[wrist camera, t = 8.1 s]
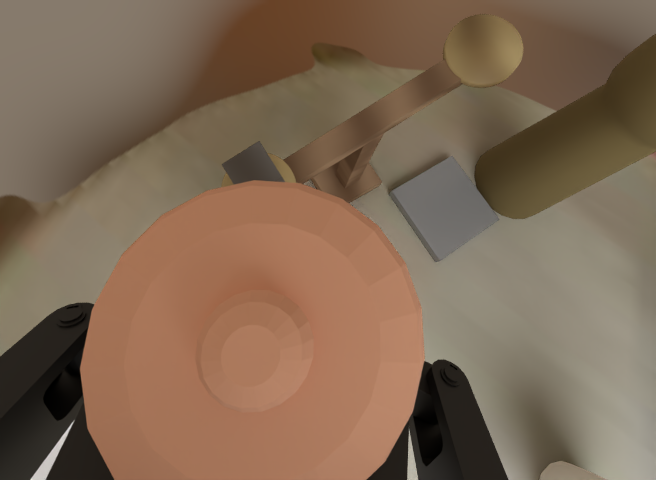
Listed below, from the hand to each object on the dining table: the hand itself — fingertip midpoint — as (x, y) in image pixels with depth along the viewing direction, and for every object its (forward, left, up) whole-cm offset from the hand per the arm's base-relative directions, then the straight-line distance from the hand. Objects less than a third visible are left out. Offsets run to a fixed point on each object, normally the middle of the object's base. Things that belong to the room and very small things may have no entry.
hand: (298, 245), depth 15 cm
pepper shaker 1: (+2, +3, -8) cm, 9 cm away
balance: (-11, -6, -14) cm, 19 cm away
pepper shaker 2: (-31, +5, -14) cm, 34 cm away
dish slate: (-20, +3, -14) cm, 24 cm away
